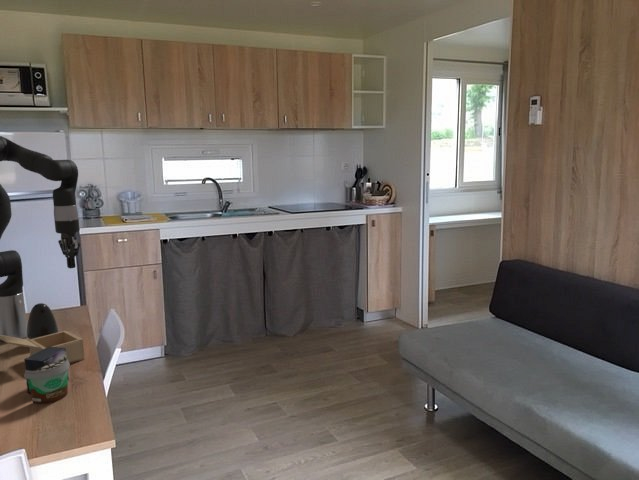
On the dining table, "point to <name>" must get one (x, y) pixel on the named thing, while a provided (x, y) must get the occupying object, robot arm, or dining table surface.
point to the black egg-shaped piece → (41, 322)
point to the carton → (61, 344)
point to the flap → (18, 341)
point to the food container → (48, 382)
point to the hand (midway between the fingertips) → (71, 267)
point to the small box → (44, 359)
